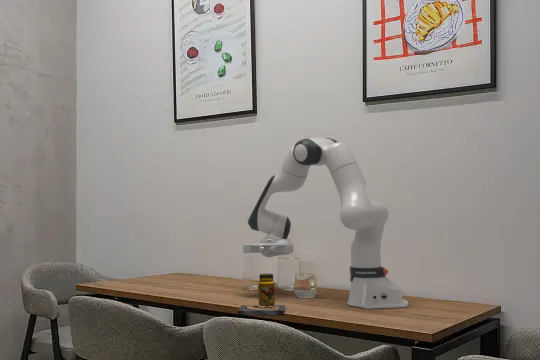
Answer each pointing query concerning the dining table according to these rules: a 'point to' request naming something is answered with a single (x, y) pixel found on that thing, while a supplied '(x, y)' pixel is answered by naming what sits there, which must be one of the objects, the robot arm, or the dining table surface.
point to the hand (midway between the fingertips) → (266, 249)
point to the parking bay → (261, 311)
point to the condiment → (266, 290)
